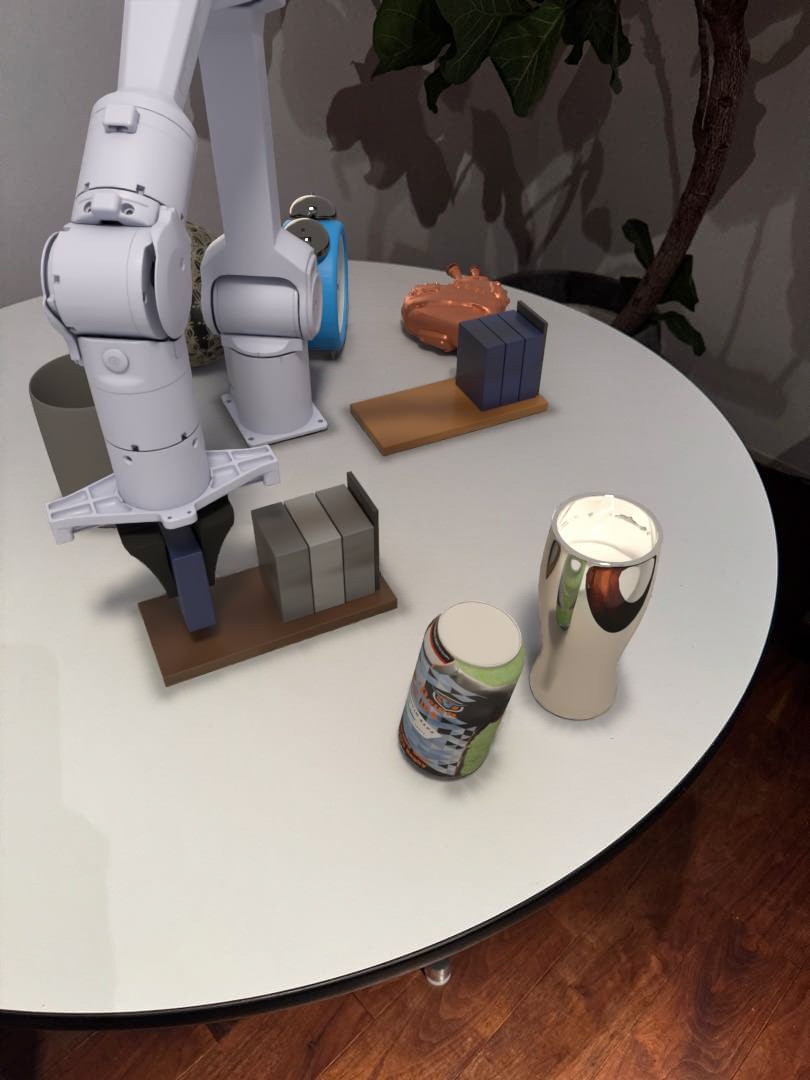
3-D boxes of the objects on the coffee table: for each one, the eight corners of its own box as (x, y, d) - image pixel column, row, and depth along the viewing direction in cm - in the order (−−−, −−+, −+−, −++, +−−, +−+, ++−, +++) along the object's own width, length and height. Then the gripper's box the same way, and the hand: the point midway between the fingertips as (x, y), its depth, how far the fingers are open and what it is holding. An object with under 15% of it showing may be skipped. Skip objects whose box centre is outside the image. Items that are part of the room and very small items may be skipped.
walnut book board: (139, 611, 66) (114, 522, 60) (356, 543, 72) (353, 456, 66) (165, 687, 61) (140, 598, 55) (397, 607, 67) (398, 519, 61)
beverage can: (394, 711, 60) (395, 589, 52) (500, 705, 60) (517, 583, 52) (402, 793, 55) (404, 673, 47) (517, 785, 56) (538, 665, 48)
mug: (173, 522, 74) (146, 403, 66) (61, 536, 73) (19, 416, 64) (171, 430, 84) (147, 317, 76) (72, 441, 82) (37, 327, 74)
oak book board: (350, 412, 86) (346, 330, 80) (506, 371, 92) (514, 292, 86) (383, 456, 81) (382, 372, 75) (547, 410, 87) (559, 329, 81)
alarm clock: (339, 375, 91) (333, 236, 81) (281, 373, 92) (267, 234, 81) (350, 314, 101) (345, 183, 91) (297, 313, 101) (286, 182, 91)
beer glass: (560, 741, 58) (594, 583, 48) (504, 668, 63) (525, 509, 52) (642, 702, 60) (692, 544, 50) (583, 635, 65) (617, 477, 55)
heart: (530, 305, 90) (486, 248, 101) (418, 326, 89) (385, 266, 100) (529, 356, 94) (487, 295, 105) (421, 377, 93) (390, 313, 103)
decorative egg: (265, 376, 91) (249, 236, 81) (152, 399, 88) (121, 256, 78) (237, 324, 99) (219, 192, 89) (132, 344, 96) (102, 208, 86)
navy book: (169, 581, 64) (151, 510, 60) (195, 573, 65) (180, 502, 60) (189, 632, 61) (172, 560, 56) (217, 623, 61) (202, 551, 57)
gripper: (35, 495, 47) (94, 656, 56) (288, 429, 52) (304, 588, 61) (18, 426, 52) (74, 585, 61) (251, 371, 57) (271, 527, 66)
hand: (187, 582), depth 61 cm, fingers closed on navy book, 2 cm apart
